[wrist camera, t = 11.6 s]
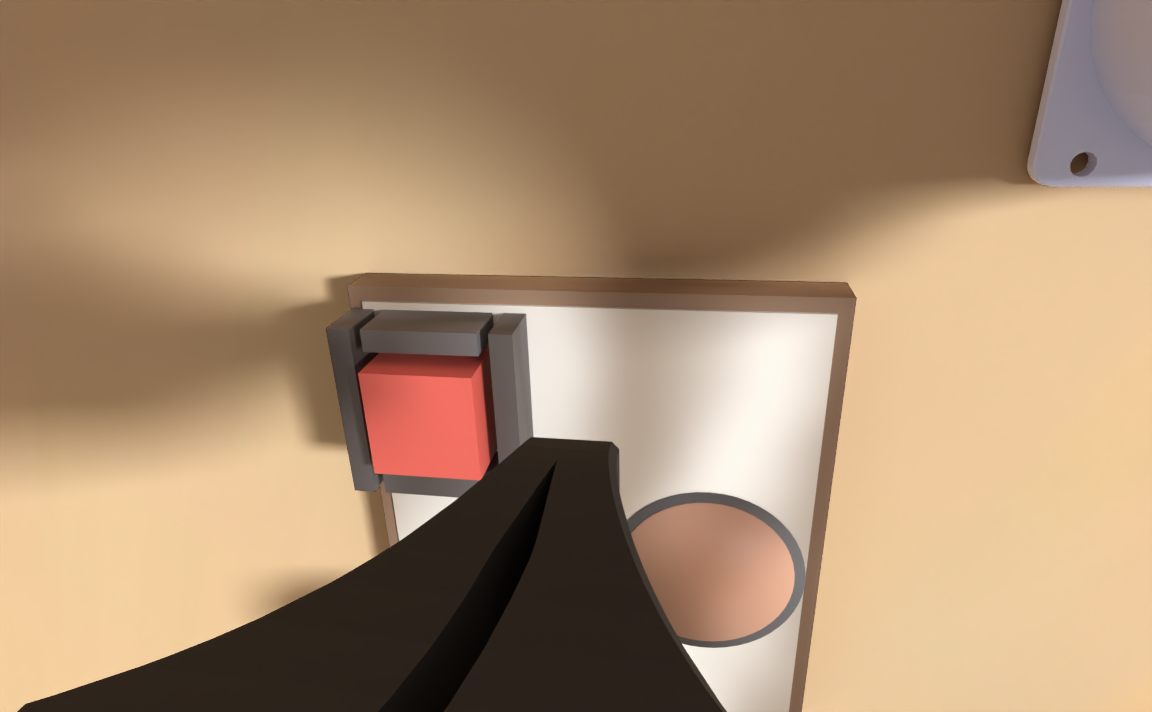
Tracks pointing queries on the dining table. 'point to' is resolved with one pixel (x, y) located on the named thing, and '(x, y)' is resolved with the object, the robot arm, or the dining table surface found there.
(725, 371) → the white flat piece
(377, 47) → the dining table surface
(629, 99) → the dining table surface
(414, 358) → the button
